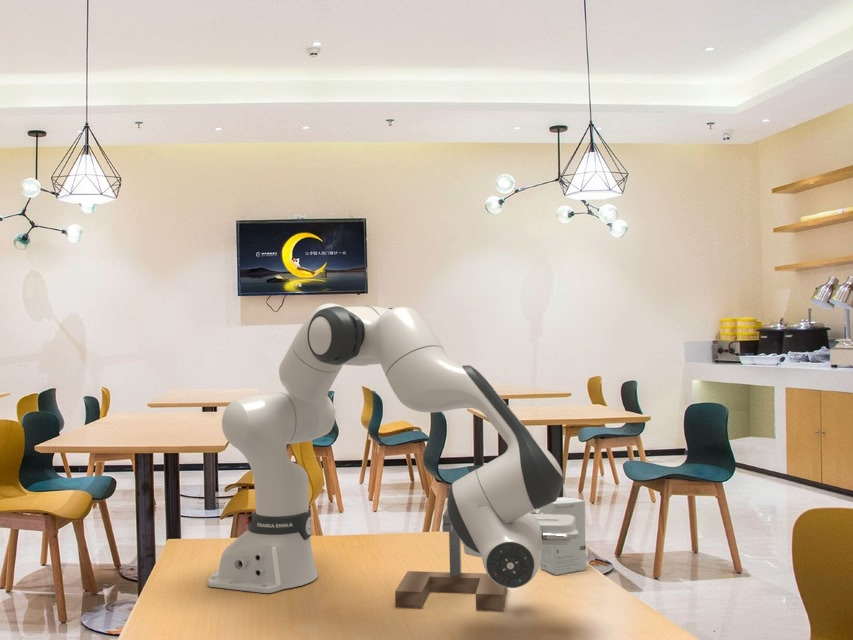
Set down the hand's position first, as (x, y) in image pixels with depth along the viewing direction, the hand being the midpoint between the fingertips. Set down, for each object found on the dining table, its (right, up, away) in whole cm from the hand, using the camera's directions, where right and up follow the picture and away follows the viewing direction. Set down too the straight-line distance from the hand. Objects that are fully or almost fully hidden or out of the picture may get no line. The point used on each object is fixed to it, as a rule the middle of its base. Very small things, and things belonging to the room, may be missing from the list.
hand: (518, 516), depth 138 cm
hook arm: (-12, -17, +6) cm, 22 cm away
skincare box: (+12, -17, +22) cm, 30 cm away
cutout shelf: (-12, -17, +6) cm, 22 cm away
